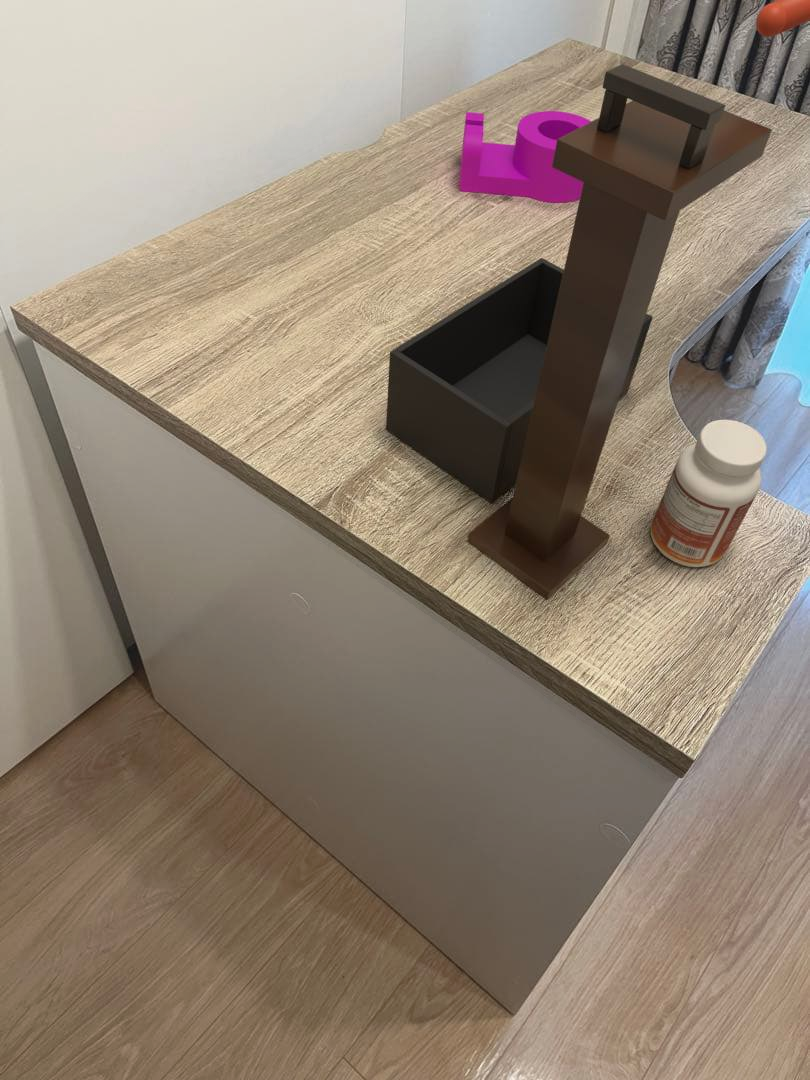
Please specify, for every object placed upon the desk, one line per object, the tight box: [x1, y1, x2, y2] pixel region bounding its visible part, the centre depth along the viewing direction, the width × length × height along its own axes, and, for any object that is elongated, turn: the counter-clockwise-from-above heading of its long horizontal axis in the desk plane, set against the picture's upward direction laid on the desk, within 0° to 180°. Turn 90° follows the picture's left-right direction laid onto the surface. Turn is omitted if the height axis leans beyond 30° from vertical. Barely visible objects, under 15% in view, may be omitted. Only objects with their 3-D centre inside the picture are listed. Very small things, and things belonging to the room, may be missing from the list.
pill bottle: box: [650, 419, 768, 568], centre depth 65 cm, size 6×6×11 cm
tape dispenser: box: [458, 110, 593, 204], centre depth 103 cm, size 16×10×6 cm, turn 86°
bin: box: [385, 257, 654, 504], centre depth 75 cm, size 20×12×9 cm, turn 137°
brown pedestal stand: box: [467, 63, 773, 600], centre depth 56 cm, size 11×8×35 cm
